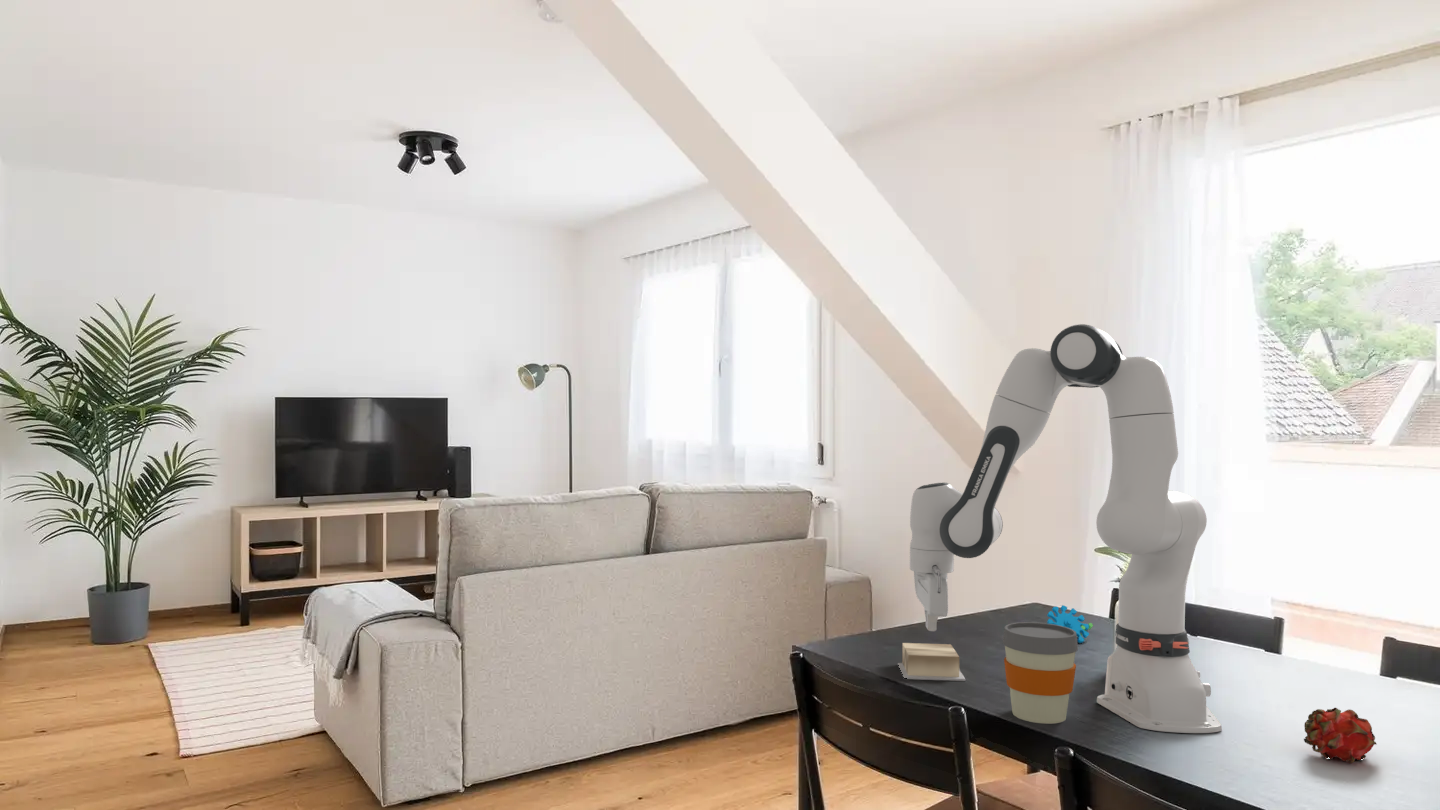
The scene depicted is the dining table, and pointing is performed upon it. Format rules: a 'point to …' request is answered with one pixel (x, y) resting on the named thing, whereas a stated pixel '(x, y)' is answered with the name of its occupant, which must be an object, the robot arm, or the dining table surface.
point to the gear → (1070, 622)
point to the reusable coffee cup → (1039, 670)
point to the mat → (905, 675)
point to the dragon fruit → (1339, 734)
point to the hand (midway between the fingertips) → (931, 629)
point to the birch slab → (930, 659)
